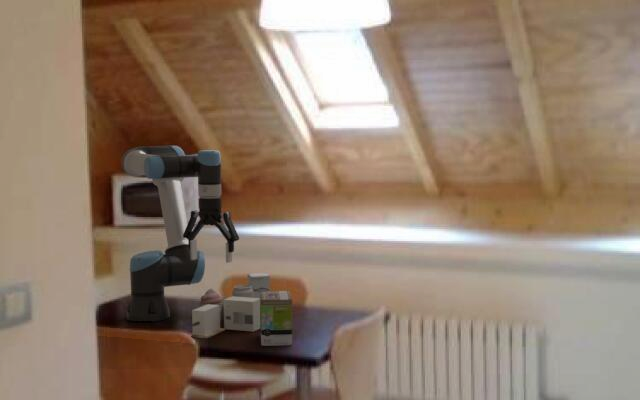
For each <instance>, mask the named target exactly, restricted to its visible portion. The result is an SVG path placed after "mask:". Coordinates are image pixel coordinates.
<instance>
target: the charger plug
mask: <svg viewBox="0 0 640 400" xmlns="http://www.w3.org/2000/svg"><path fill="white" fill-rule="evenodd" d="M191 314H192V315H191V318H192V333H193V335H203V336H205V335H208V334H210V333H212V332H214V331H216V330H219V329H220V328H221V321H222V320H223V319H222V317H223V316H222V310H221V311H220V305H210V304H207V305H205V306H202V307H200V306H199V307H197V308H194V309H192V311H191Z"/></svg>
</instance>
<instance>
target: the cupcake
mask: <svg viewBox="0 0 640 400" xmlns="http://www.w3.org/2000/svg"><path fill="white" fill-rule="evenodd" d="M207 304H210V305H220V311H221V312H222V309H223V307H224V300H223V299H222V297H221V296H220V293H218V292H217V291H215V290H213V288H209V289H207V290H206V291H205V293H204V294H203V295H201V297H200V302H197V305H198V306H199V307H202V306H205V305H207Z"/></svg>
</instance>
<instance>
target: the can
mask: <svg viewBox="0 0 640 400" xmlns="http://www.w3.org/2000/svg"><path fill="white" fill-rule="evenodd" d="M251 287H252V286H250V285H248V284H239V285H235V286H234V287H233V289H232V291H231V297H232V296H234V297H248V298H254V291H253V289H252V288H251Z"/></svg>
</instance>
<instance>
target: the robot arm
mask: <svg viewBox="0 0 640 400" xmlns="http://www.w3.org/2000/svg"><path fill="white" fill-rule="evenodd" d="M221 156H222V155H221V152H220V150H218V149H202V150H198V152H197V153H192V154H186V153H185V152H184V150H183V149H182V148H181V147H180V146H178V145H170V144H169V145H154V146H152V145H151V146H150V145H149V146H148V145H147V146H146V145H145V146H136V147H133V148H131V149H128V150H127V151H126V152H125V153H123V156H122V157H121V168H122V170H123V172H125V174H127V175H128V176H131V177H135V178H142V179H143V178H144V179H145V178H147V179H148V180H152V183H153V184H154V186H157V188H158V189H157V190H158V196H159V200H160V201H159V202H160V206H161V213H162V219H163V225H164V230H165V236H166V241H167V247H166V248H165V250H164V252H163V251H162V250H148V251H144V252H140V253H136V254H134V255H133V256H131V258H130V261H129V262H130V263H129V272H130V274H129V278H130V295H131V296H130V300H129V304H128V307H127V311H126V319H127V320H128V321H130V320H131V322H135V321H140V322H139V323H142V322H141V321H145V322H144V323H146V321H152V322H156V321H157V322H158V321H162V320H167V319H169V318H170V317H171V310H170V308H169V305H168V302H167V300H166V299H167V298H166V296H165V287H166V288H167V287H175V286H177V287H179V286H184V285H185V286H190V285H195V284H199V283H201V281H202V280H203V279H204V275H205V268H206V267H205V266H206V259H205V254H204V253H203V251H200V250H198V248H197V247H198V246H197V245H198V243H197V241H198V240H197V238H196V237H197V236H198V234H199V233H200V232H201V230H202V229H203V228H204V226H208V225H209V226H215V227H216V228H217V229H218V231H219V232H220V233H221V235H222V236H223V238H224V239H225V240H226V241H227V242H225V263H226V264H227V263H231V262H233V253H234V250H235V242H237V241H239V240H240V237H239V235H238V234H239V233H238V232H237V229H236V227H235V226H234V225H235V224H234V222H233V221H232V219H231V217H232V216H231V212H230V211H227V212H222V206H223V205H222V197H221V196H222V157H221ZM185 178H197V183H198V184H197V185H198V189H197V190H198V196H199V198H198V209H199V211H198V210H197V209H195V210H191V211H190V217H189V220H188V215H187V210H186V205H185V199H184V194H183V188H182V187H183V186H182V184H181V183H182V182H183V180H184V179H185ZM198 218H200V219H199V221H198V222H197V219H198ZM222 219H223V220H222ZM196 222H197V224H196ZM195 224H196V226H195Z"/></svg>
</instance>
